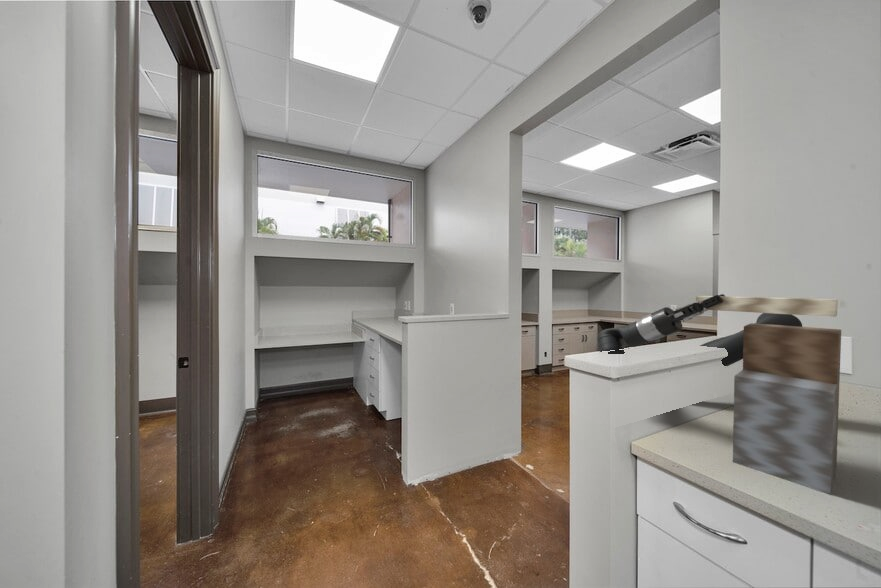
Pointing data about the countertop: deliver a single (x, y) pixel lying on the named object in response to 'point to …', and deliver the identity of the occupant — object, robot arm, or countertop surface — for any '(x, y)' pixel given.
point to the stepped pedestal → (788, 403)
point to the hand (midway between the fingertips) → (722, 297)
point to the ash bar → (776, 305)
